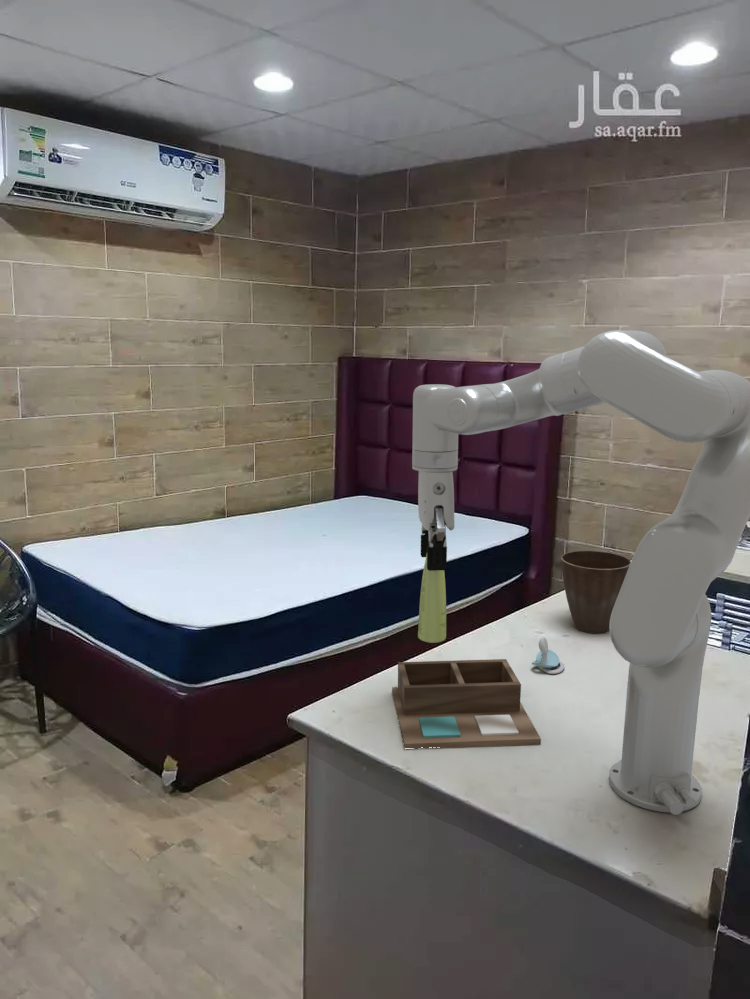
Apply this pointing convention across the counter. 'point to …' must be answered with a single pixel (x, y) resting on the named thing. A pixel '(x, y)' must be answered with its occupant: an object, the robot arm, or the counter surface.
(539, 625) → the counter surface
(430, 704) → the brown wooden desk organizer
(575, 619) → the plant pot
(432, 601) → the tube
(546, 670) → the pacifier
